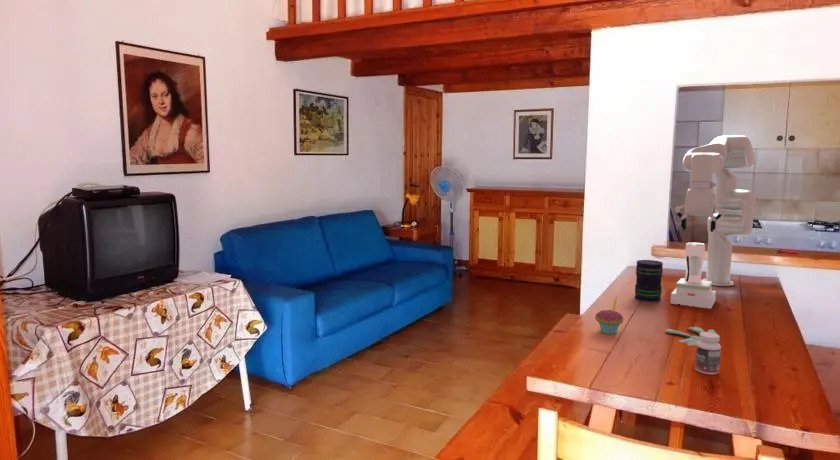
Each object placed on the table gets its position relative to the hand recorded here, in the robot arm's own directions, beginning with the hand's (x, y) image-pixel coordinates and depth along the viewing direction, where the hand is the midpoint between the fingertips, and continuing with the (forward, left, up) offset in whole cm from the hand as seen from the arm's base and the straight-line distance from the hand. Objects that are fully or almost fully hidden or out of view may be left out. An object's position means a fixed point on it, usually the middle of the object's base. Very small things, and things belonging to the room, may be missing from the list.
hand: (697, 230), depth 216 cm
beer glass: (0, -1, -20) cm, 20 cm away
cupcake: (+58, -17, -29) cm, 66 cm away
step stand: (+1, 0, -28) cm, 28 cm away
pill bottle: (+78, +14, -29) cm, 84 cm away
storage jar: (+5, -16, -29) cm, 33 cm away
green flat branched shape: (+46, +6, -29) cm, 54 cm away
